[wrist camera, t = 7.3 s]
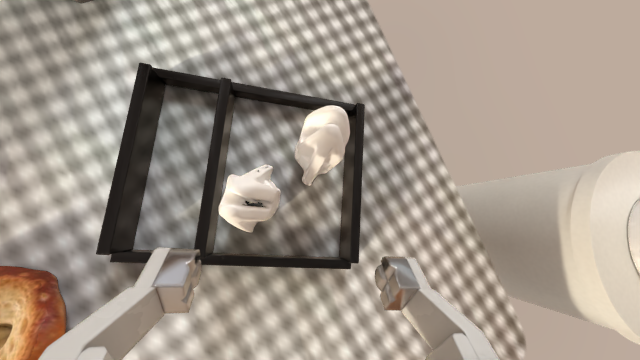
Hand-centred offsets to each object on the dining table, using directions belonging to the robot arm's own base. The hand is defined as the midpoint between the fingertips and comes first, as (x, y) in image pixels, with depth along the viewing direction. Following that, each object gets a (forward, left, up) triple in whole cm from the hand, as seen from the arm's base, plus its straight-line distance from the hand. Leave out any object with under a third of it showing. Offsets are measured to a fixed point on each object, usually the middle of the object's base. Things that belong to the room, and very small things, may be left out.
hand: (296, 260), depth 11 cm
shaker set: (0, -6, -12) cm, 13 cm away
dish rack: (+3, -6, -11) cm, 13 cm away
